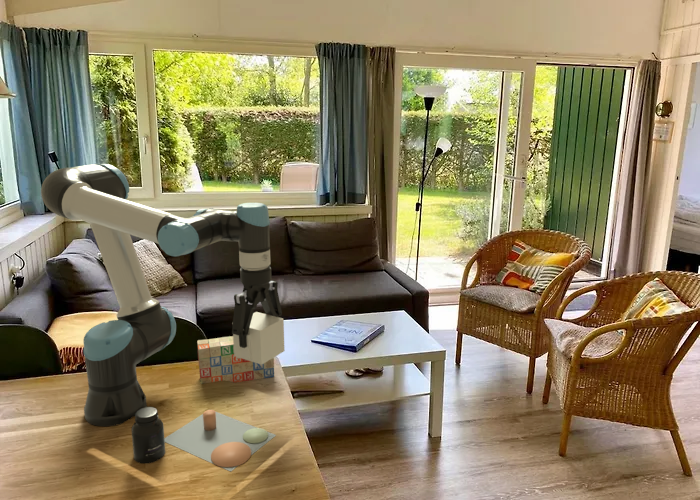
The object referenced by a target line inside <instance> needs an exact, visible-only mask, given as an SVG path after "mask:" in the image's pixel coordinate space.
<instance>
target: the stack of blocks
mask: <svg viewBox="0 0 700 500" xmlns="http://www.w3.org/2000/svg"><path fill="white" fill-rule="evenodd" d="M196 343H197V359H198V369H199V380H200V384H201V385H202V384H208V383H216V382H224V381H227V382H230V383H233V384H234V383H241V382H246V381H247V382H248V381H253V380H254V381H255V380H261V379H268V378H269V379H270V378H274V377H275V359H274V358H275V357H274V358H272V359H270V360H269V361H267V362H265V363H264V364H262V365H261V364H258V363H255V362H252V361H248V360H245V359H242V358H239V357H236V356H234V341H233V335H232V336H230V335H229V336H222V337H217V338H216V337H215V338H209V339H198V340H197V342H196Z"/></svg>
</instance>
